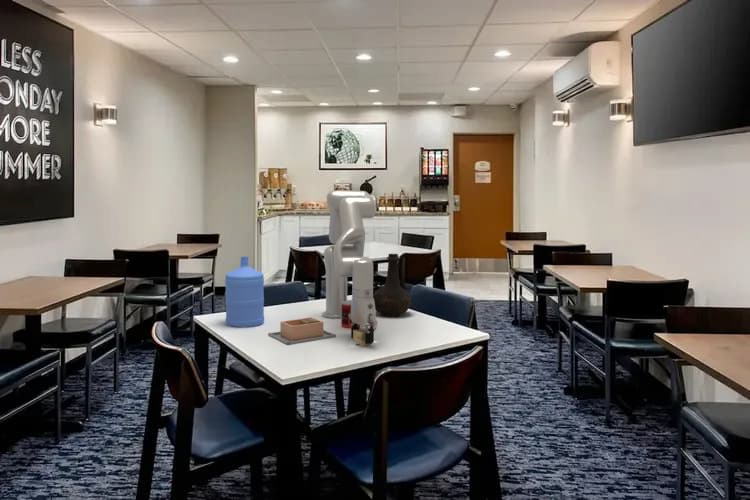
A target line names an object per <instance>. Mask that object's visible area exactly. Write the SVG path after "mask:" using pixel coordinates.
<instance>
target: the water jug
mask: <svg viewBox="0 0 750 500" xmlns="http://www.w3.org/2000/svg"><path fill="white" fill-rule="evenodd" d="M264 283H265V279H264V273H263V272H261V271H259V270H256V269H255V268H253V267H250V266H249V256H240V266H239V267H237V268H235V269H233V270H232V271H230V272H228V273H225V279H224V284H225V324H226V325H227V326H230V327H233V328H251V327H256V326H257V327H258V326H260V325H262V324H263V323H264V322H265V313H264V310H265V304H264V303H265V297H264V296H265V295H264V289H265V288H264V287H265V286H264Z"/></svg>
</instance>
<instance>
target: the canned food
mask: <svg viewBox="0 0 750 500" xmlns="http://www.w3.org/2000/svg"><path fill="white" fill-rule="evenodd" d="M351 302H352V299H350V300H349V299H347V300H346V301H343V302H342V318H341V328H344V329H350V330H351V328H352V327H351V326H350V325H351V324H350V321H349V320H350V319H349V316H348V314H349V313H351ZM357 327H359V329H361V327H362V325H358V326H357Z"/></svg>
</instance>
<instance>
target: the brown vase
mask: <svg viewBox="0 0 750 500" xmlns="http://www.w3.org/2000/svg"><path fill="white" fill-rule="evenodd" d="M386 259H387V260H388V261H387V273H386V278H385V279H386V280H385V284H384V285H383V286H382V287H381V288H378V289H376V290H375V291H373V298H374V302H375V312H377V313H378V314H380V315H382V316H385V317H386V316H387V317H399V316H400V317H401V316H403V315H404V314H405V313H406V312H407V311H408V310H409V309H410V307H411V305H412V297H411V295H410V293H409V292H408V290H406V289H404V288H403V287H401V283H400V276H399V275H400V274H399V260H400V259H401V258H400V257H399V254H398V253H388V256H386Z"/></svg>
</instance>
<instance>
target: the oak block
mask: <svg viewBox="0 0 750 500" xmlns="http://www.w3.org/2000/svg"><path fill="white" fill-rule="evenodd" d="M366 333H367V331H366V329H365V327H364V328H360V329H358V330H353V338H352V341H353V342H355V345H356V346H358V345H359V347H367V346H370V344H372V345H373V343H370V344H366V343H365V335H366ZM366 345H367V346H366Z"/></svg>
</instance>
